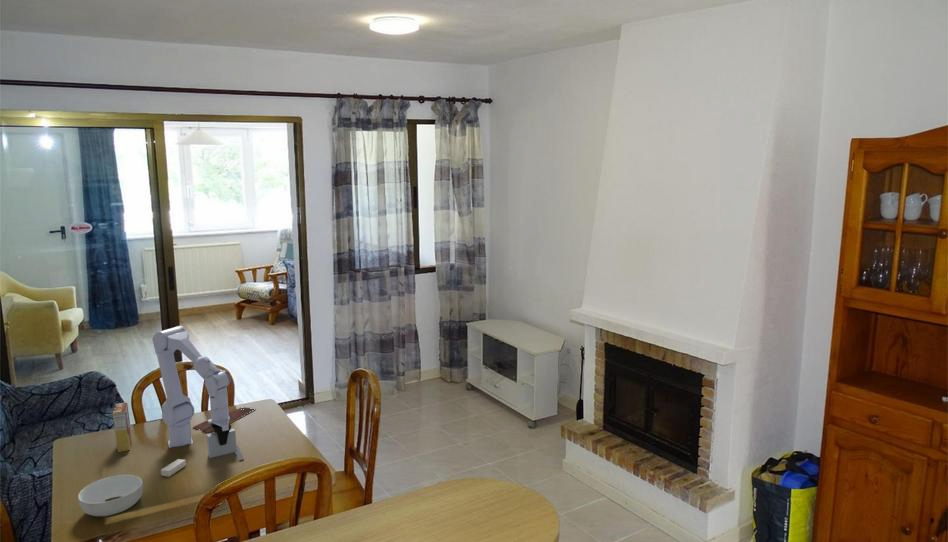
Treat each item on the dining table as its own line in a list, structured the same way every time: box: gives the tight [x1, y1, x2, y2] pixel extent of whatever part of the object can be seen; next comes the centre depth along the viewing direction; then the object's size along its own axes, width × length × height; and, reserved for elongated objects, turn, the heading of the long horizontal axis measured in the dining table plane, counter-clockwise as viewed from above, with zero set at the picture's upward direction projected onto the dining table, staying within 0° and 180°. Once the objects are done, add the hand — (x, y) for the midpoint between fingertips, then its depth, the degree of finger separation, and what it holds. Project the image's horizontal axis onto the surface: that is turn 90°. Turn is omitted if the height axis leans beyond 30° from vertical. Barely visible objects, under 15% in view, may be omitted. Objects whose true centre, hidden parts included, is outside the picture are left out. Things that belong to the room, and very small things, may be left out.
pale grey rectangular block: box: [206, 427, 237, 459], centre depth 226 cm, size 2×9×8 cm, turn 124°
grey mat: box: [234, 445, 245, 462], centre depth 226 cm, size 12×12×1 cm
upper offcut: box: [160, 458, 187, 477], centre depth 214 cm, size 3×8×2 cm, turn 164°
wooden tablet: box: [192, 407, 254, 434], centre depth 259 cm, size 26×2×10 cm
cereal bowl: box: [77, 474, 144, 517], centre depth 192 cm, size 17×17×7 cm
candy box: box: [112, 402, 133, 453], centre depth 233 cm, size 9×4×15 cm, turn 23°
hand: (222, 443), depth 226 cm, fingers closed on pale grey rectangular block, 2 cm apart
